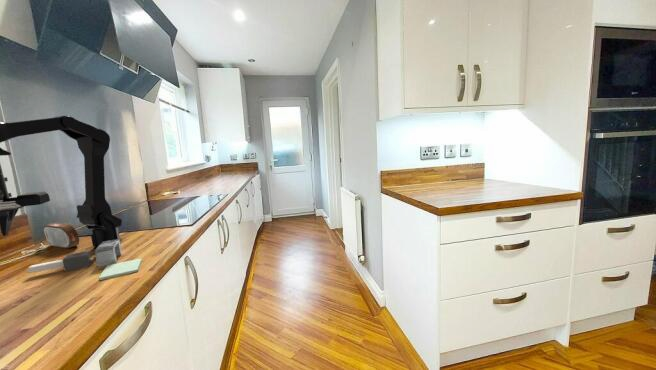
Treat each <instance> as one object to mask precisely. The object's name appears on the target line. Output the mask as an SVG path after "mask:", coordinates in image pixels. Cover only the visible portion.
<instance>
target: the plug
mask: <svg viewBox="0 0 656 370" xmlns="http://www.w3.org/2000/svg"><path fill="white" fill-rule="evenodd" d="M94 259H96V255H95V254H94V255H92V250H87V251H81V252H75V253H70V254H67V255H65V257H64V258H62V259H58V260H53V261H47V262H43V263H37V264H32V265H29V266H28V268H27V269H28V273H29V274H34V273H38V272H39V273H40V272H43V271H49V270H55V269H59V268H64V272H69V271H75V270H79V269H80V270H81V269H84V268H85V269H86V268H89V267H90V266H91V265H92V264H93V262H94Z"/></svg>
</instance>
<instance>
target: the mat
mask: <svg viewBox="0 0 656 370" xmlns="http://www.w3.org/2000/svg"><path fill="white" fill-rule="evenodd" d="M142 262H143V258H141V257H140V258H138V259H132V260H127V261H122V262H117V263H115V264H111V265H106V267H104V270H103V271H102V273H101V274H100V275H99V277H98V281H102V280H107V279H112V278H115V277H116V278H117V277H120V276H124V275H128V274H132V273H137V272H139V271H140V267H141V266H142Z"/></svg>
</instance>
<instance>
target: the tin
mask: <svg viewBox="0 0 656 370" xmlns="http://www.w3.org/2000/svg"><path fill="white" fill-rule="evenodd" d="M42 229H43V230H42V233H44V237H45V240H46V242H47V243H48V244H49V245H50V246H52V247H54V248H60V249H71V248H73V247H76V246H79V245H80V244H79V243H80V235H79V234H78V231H77V230H76V228H75V227H74V226H73V225H71V224H69V223H63V222H55V221H54V222H52V223H49V224H46V225H44V226H43V228H42Z"/></svg>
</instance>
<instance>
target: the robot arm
mask: <svg viewBox="0 0 656 370" xmlns="http://www.w3.org/2000/svg"><path fill="white" fill-rule="evenodd" d="M55 131H60V132H63V134H65V135H66V136H67V137H69V138H70V139H72V140H75V141H76V143H77V145H78V146H77V147H78V150H80V153H82V155H83V158H84V162H83V163H84V165H83V166H84V189H85V192H84V193H85V200H84V201H83V203H82V205H81V204H80V205H78V204H77V205H76V210H77V215H76V218H77V219H78V220H79V222H80V223H81V224H82V225H84V226H86V228H87V229H88V230H91V234H90V238H91V242H92V243H91V244H92V247H93V250H96V249H97V247H98V246H99V245H100V244H101V243H102V242H104V241H110V240H115V239H119V240H120V242H121V241H122V240H123V239H122V238H121V237H120V236H121V235H120V231H119V227H121V226H122V222H123V220H122V219H121V218H119V217H117V216H115V215H113V213H112V212H113V211H112V207H111V205H110V204H109V202H108V201H107V198H106V182H105V181H106V180H105V177H106V176H105V156H106V154H107V152H108V151H109V149H110V144H111V136H110V135H109V133H108V132H107V131H106V130H104V129H101V128H97V127H95V126H93V125H91V124H88V123H85V122H83V121H80V120H78V119H76V118H74V117H72V116H69V115H59V116H58V115H57V116H54V117H48V118H40V119H39V118H38V119H31V120H30V119H29V120H22V121H21V120H20V121H14V122H13V121H12V122H0V144H1V143H4V142H6V141H9V140H11V139H13V138H17V137H21V136H22V137H23V136H29V135H35V134H43V133H48V132H49V133H50V132H55ZM10 155H12V153H11V152H10V151H8V150H5V149H3V148H2V147H0V157H1V156H10ZM8 181H9V180H8V177H7V176H6V177H5V175H4V173H3V168H2V165H1V163H0V231H1V234H2V236H3V237H6V236H8V235H9V233H10V230H11V228H12V227H11V226H12V224H13V222H14V219H15V217H16V215H17V213H18V212H19V209H22V208H25V207H33V206H39V205H43V204H46V203H48V202H50V201H51V199H50V195H49V194H48V192H46V191H36V192H26V193H23V194H19V195H16V196H15V197H12V196H13V195H12V193H11V192H8V188H7V185H6V182H8Z"/></svg>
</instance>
